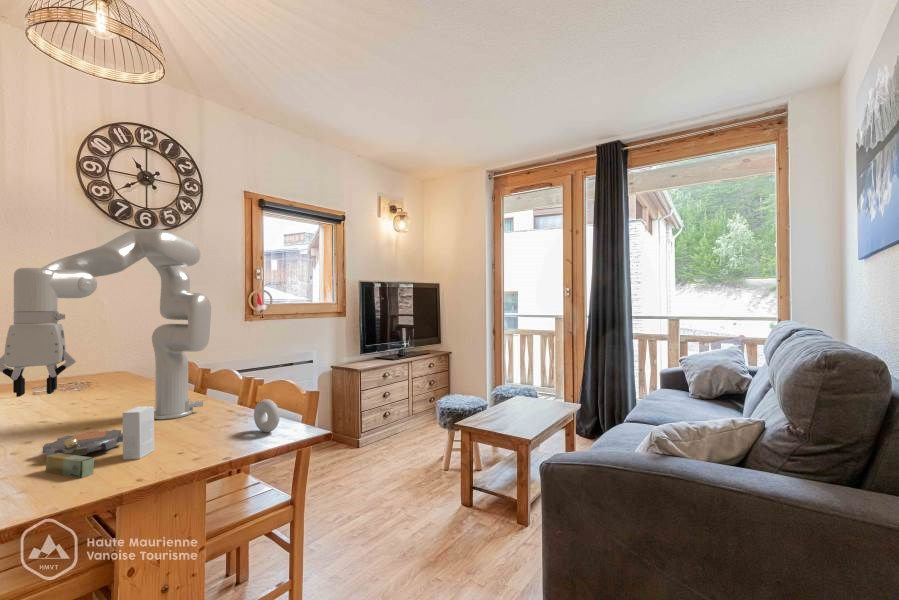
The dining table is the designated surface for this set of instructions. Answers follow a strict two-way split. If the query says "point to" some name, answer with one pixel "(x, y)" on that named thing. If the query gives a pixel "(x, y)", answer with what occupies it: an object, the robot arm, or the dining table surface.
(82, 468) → the medication box
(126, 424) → the skincare box
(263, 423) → the donut
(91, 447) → the notched metal plate
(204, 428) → the dining table surface
